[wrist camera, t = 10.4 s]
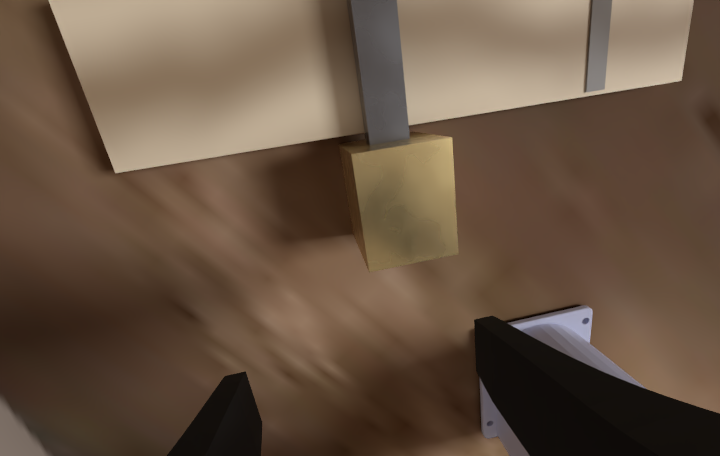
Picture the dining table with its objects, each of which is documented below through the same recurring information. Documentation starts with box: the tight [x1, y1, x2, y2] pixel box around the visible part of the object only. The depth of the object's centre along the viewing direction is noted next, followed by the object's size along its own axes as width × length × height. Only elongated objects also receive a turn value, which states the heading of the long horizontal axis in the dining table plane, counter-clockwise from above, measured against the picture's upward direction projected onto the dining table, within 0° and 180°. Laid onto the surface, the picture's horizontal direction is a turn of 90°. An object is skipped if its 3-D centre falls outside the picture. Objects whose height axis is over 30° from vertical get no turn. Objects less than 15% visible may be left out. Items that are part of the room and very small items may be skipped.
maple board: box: [48, 0, 694, 173], centre depth 16 cm, size 7×28×2 cm, turn 99°
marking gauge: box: [339, 0, 458, 272], centre depth 15 cm, size 12×4×5 cm, turn 9°
